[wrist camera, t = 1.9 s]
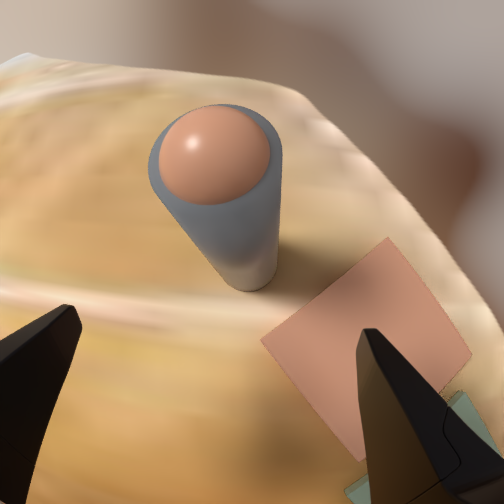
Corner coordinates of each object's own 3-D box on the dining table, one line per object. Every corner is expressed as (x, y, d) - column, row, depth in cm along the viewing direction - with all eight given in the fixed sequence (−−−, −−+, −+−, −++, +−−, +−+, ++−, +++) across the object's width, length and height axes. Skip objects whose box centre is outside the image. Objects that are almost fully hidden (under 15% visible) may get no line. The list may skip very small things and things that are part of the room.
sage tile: (501, 465, 15) (507, 468, 14) (406, 550, 13) (409, 556, 12) (458, 390, 17) (465, 392, 16) (343, 490, 16) (346, 495, 15)
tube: (280, 288, 21) (293, 186, 7) (220, 293, 21) (124, 206, 7) (274, 231, 22) (273, 70, 8) (217, 236, 22) (141, 90, 8)
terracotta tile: (465, 354, 18) (472, 354, 17) (355, 457, 17) (358, 462, 16) (383, 241, 21) (387, 236, 20) (260, 339, 20) (259, 339, 19)
